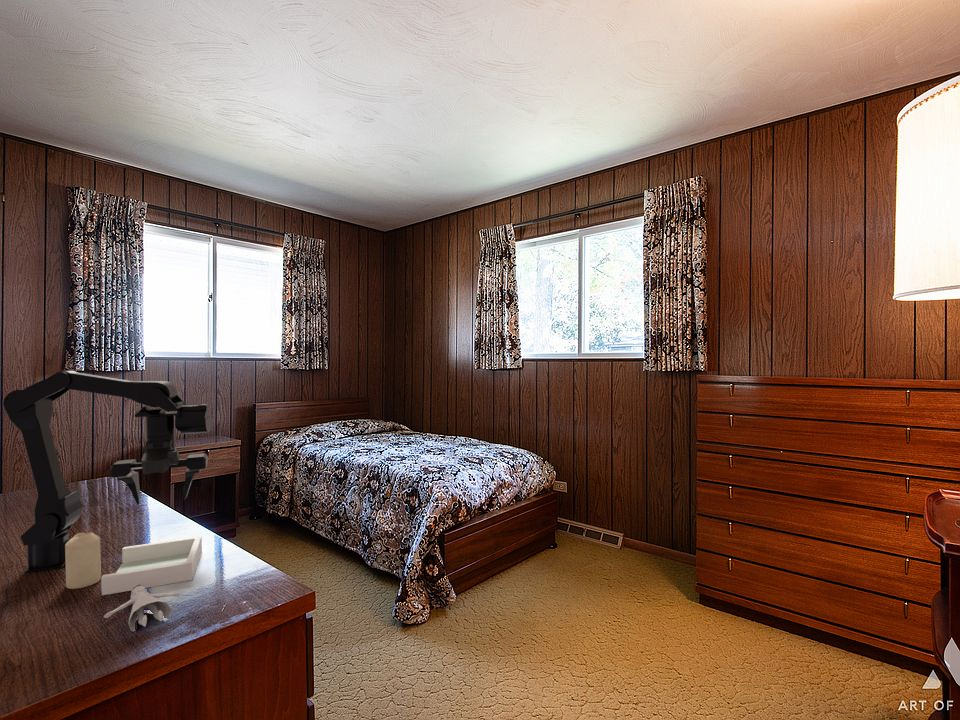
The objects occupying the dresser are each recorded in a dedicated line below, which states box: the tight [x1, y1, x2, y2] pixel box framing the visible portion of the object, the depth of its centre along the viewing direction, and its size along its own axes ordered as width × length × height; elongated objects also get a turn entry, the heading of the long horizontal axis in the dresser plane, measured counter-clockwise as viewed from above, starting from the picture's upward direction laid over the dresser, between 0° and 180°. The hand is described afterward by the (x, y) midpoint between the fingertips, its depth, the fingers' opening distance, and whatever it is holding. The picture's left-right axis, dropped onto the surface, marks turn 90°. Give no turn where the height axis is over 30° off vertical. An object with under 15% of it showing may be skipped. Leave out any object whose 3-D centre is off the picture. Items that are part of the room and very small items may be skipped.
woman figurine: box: [103, 584, 182, 633], centre depth 88 cm, size 12×4×18 cm
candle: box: [65, 531, 102, 590], centre depth 100 cm, size 6×6×10 cm
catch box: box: [100, 535, 203, 596], centre depth 105 cm, size 15×16×4 cm
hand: (162, 501), depth 114 cm, fingers open, 9 cm apart
